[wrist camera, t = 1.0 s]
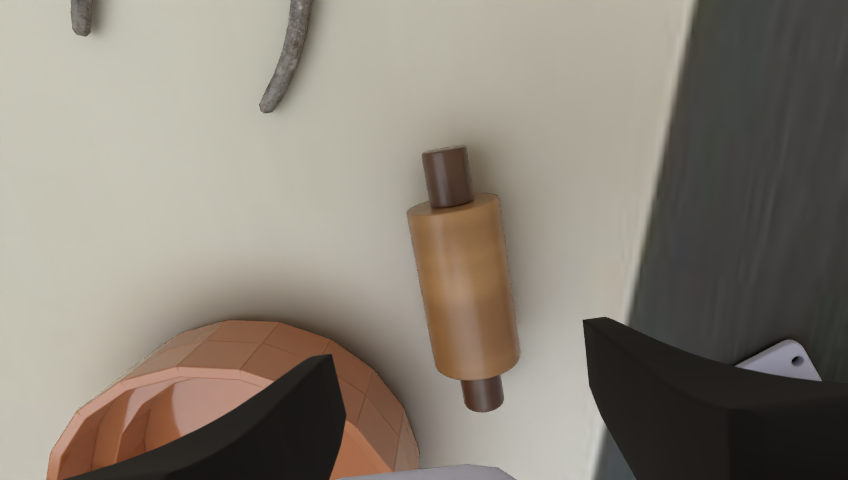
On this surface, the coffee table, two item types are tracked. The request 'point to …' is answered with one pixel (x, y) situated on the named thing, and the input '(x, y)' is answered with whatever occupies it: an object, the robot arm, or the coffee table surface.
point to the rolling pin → (464, 279)
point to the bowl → (230, 399)
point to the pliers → (287, 61)
